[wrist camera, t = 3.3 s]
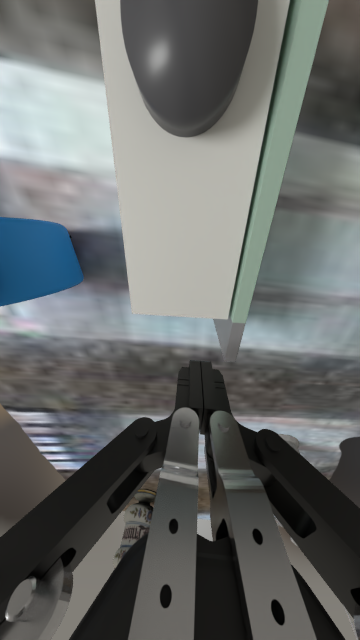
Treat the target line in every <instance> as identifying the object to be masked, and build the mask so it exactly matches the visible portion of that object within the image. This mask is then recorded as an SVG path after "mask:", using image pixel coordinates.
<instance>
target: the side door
mask: <svg viewBox="0 0 360 640" xmlns="http://www.w3.org/2000/svg"><path fill="white" fill-rule="evenodd" d="M328 1H329V0H290V3H289V8H288V13H287V18H286V23H285V28H284V33H283V38H282V44H281V49H280V54H279V59H278V64H277V69H276V74H275V79H274V84H273V90H272V95H271V100H270V105H269V110H268V115H267V120H266V125H265V131H264V136H263V141H262V146H261V151H260V156H259V161H258V166H257V172H256V177H255V182H254V187H253V192H252V197H251V202H250V207H249V213H248V218H247V223H246V228H245V233H244V238H243V243H242V248H241V254H240V259H239V264H238V269H237V274H236V279H235V284H234V289H233V294H232V300H231V305H230V310H229V315H228V319H213V320H214V324H215V328H216V331H217V335H218V339H219V343H220V346H221V350H222V354H223V358H224V361H229V362H236V358H237V354H238V351H239V347H240V343H241V339H242V335H243V331H244V327H245V323H246V319H247V316H248V312H249V308H250V304H251V300H252V296H253V292H254V288H255V285H256V281H257V277H258V273H259V269H260V265H261V261H262V257H263V253H264V250H265V246H266V242H267V238H268V234H269V230H270V226H271V222H272V219H273V215H274V211H275V207H276V203H277V199H278V195H279V191H280V187H281V184H282V180H283V176H284V172H285V168H286V164H287V160H288V156H289V153H290V149H291V145H292V141H293V137H294V133H295V129H296V125H297V121H298V118H299V114H300V110H301V106H302V102H303V98H304V94H305V90H306V87H307V83H308V79H309V75H310V71H311V67H312V63H313V59H314V55H315V52H316V48H317V44H318V40H319V36H320V32H321V28H322V24H323V20H324V17H325V13H326V9H327V5H328Z"/></svg>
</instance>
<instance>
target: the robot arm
mask: <svg viewBox="0 0 360 640" xmlns="http://www.w3.org/2000/svg"><path fill="white" fill-rule="evenodd" d="M199 432H200V434H203V435H205V447H204V453H205V461H206V469H207V478H208V486H209V494H210V518H211V528H212V537H213V541H209V540H207V539H205V538H204V537H202V536H200V535H198V534H197V509H198V441H199ZM161 467H162V469H161V473H160V478H159V483H158V488H157V493H156V498H155V503H154V508H153V513H152V519H151V524H150V529H149V533H147V534H146V535H144V536H142V537H141V538H140V539H139V540H137V541H136V542H135V543H134V544H133V545H132V546H131V547H130V548H129V550H128V551H127V552H126V553H125V555H124V556H123V557H122V559H121V560H120V562H119V563H118V565H117V566H116V568H115V570H114V571H113V573H112V574H111V576H110V577H109V579H108V580H107V582H106V583H105V585H104V586H103V588H102V589H101V591H100V593H99V594H98V596H97V597H96V599H95V601H94V602H93V604H92V605H91V606H90V608H89V610H88V611H87V613H86V614H85V616H84V617H83V619H82V620H81V622H80V623H79V625H78V626H77V628H76V630H75V631H74V633H73V634H72V636H71V637H70V639H69V640H345V638H344V637H343V635H342V634H341V632H340V631H339V630H338V628H337V627H336V625H335V624H334V622H333V621H332V619H331V618H330V616H329V615H328V614H327V612H326V611H325V609H324V608H323V606H322V605H321V603H320V602H319V600H318V599H317V597H316V596H315V595H314V593H313V592H312V590H311V589H310V587H309V586H308V584H307V583H306V582H305V580H304V579H303V578H302V576H301V575H300V574H299V573H298V572H297V570H296V569H295V568H294V567H293V566H292V565H291V564H290V561H289V558H288V555H287V552H286V549H285V546H284V543H283V540H282V538H281V535H280V532H279V529H278V526H277V523H276V520H275V517H276V518H277V519H278V521H279V522H280V523H281V525H282V526H283V527H284V529H285V530H286V531H287V533H288V534H289V535H290V536H291V538H292V539H293V540H294V542H295V543H296V544H297V546H298V547H299V548H300V549H301V551H302V552H303V553H304V555H305V556H306V557H307V559H308V560H309V561H310V562H311V564H312V565H313V566H314V568H315V569H316V570H317V572H318V573H319V574H320V575H321V577H322V578H323V579H324V581H325V582H326V583H327V585H328V586H329V587H330V588H331V590H332V591H333V592H334V594H335V595H336V596H337V598H338V599H339V600H340V602H341V603H342V604H343V605H344V607H345V608H346V609H347V611H348V612H349V613H350V614H351V616H352V617H353V618H354V623H355V629H356V633H357V637H358V640H360V508H359V507H357V506H356V505H355V504H354V503H353V502H352V501H351V500H350V499H349V498H348V497H347V496H345V495H344V494H343V493H342V492H341V491H340V490H339V489H338V488H337V487H336V486H334V485H333V484H332V483H331V482H330V481H329V480H328V479H327V478H326V477H325V476H323V475H322V474H321V473H320V472H319V471H318V470H317V469H316V468H315V467H314V466H312V465H311V464H310V463H309V462H308V461H307V460H306V459H305V458H304V457H303V456H301V455H300V454H299V453H298V452H297V451H296V450H295V449H294V448H293V447H292V446H290V445H289V444H288V443H287V442H286V441H285V440H284V439H283V438H282V437H281V436H279V435H278V434H277V433H275V432H273V431H271V430H268V429H262V430H260V431H259V432H258V433H257V432H255V431H253V430H250V429H248V428H246V427H244V426H242V425H241V424H239V423H238V422H237V421H236V420H235V419H234V417H233V415H232V413H231V410H230V405H229V401H228V397H227V392H226V389H225V384H224V379H223V375H222V374H221V373H220V371H219V370H215V369H212V364H211V362H209V361H195V360H190V364H189V368H188V367H182V368H181V370H180V371H179V374H178V384H177V394H176V403H175V409H174V411H173V413H172V414H171V415H170V416H169V417H168V418H166V419H164V420H160V421H157V422H154V421H153V420H152V419H150V418H147V417H143V418H139V419H137V420H135V421H134V422H133V423H132V424H131V425H129V426H128V427H127V428H126V429H125V430H124V431H123V432H121V433H120V434H119V435H118V436H117V437H116V438H114V439H113V440H112V441H111V442H110V443H109V444H108V445H106V446H105V447H104V448H103V449H102V450H101V451H99V452H98V453H97V454H96V455H95V456H94V457H93V458H91V459H90V460H89V461H88V462H87V463H86V464H84V465H83V466H82V467H81V468H80V469H79V470H78V471H76V472H75V473H74V474H73V475H72V476H71V477H69V478H68V479H67V480H66V481H65V482H64V483H63V484H61V485H60V486H59V487H58V488H57V489H56V490H55V491H53V492H52V493H51V494H50V495H49V496H48V497H46V498H45V499H44V500H43V501H42V502H41V503H39V504H38V505H37V506H36V507H35V508H34V509H33V510H31V511H30V512H29V513H28V514H27V515H26V516H25V517H23V518H22V519H21V520H20V521H19V522H18V523H16V525H14V526H13V527H12V528H11V529H9V530H8V531H7V532H6V533H5V534H4V535H3V536H1V537H0V640H51V639H52V637H53V635H54V634H55V632H56V631H57V629H58V627H59V626H60V624H61V622H62V619H63V617H64V615H65V613H66V611H67V608H68V605H69V602H70V598H71V594H72V588H73V574H72V572H73V571H74V569H75V568H76V567H77V566H78V564H79V563H80V562H81V561H82V559H83V558H84V557H85V556H86V555H87V553H88V552H89V551H90V550H91V548H92V547H93V546H94V544H96V542H97V541H98V540H99V539H100V537H101V536H102V535H103V534H104V532H105V531H106V530H107V529H108V527H109V526H110V525H111V524H112V523H113V521H114V520H115V519H116V518H117V516H118V515H119V514H120V513H121V511H122V510H123V509H124V508H125V506H126V505H127V504H128V503H129V501H130V500H131V499H132V498H133V497H134V495H135V494H136V493H137V492H138V490H139V489H140V488H141V487H142V485H143V484H144V483H145V482H146V480H147V479H148V478H149V477H150V476H151V474H152V473H153V472H154V470H156V469H158V468H161ZM274 516H275V517H274ZM252 534H253V535H252Z"/></svg>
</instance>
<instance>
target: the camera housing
mask: <svg viewBox="0 0 360 640" xmlns="http://www.w3.org/2000/svg"><path fill="white" fill-rule="evenodd" d="M95 3H96V12H97V20H98V29H99V37H100V46H101V54H102V63H103V71H104V80H105V88H106V96H107V105H108V113H109V122H110V130H111V139H112V147H113V156H114V164H115V173H116V181H117V190H118V198H119V207H120V215H121V224H122V232H123V241H124V249H125V258H126V266H127V275H128V283H129V292H130V300H131V309H132V314H146V315H162V316H179V317H195V318H212V319H228V315H229V310H230V305H231V300H232V294H233V289H234V284H235V279H236V274H237V269H238V264H239V259H240V254H241V248H242V243H243V238H244V233H245V228H246V223H247V218H248V213H249V207H250V202H251V197H252V192H253V187H254V182H255V177H256V172H257V166H258V161H259V156H260V151H261V146H262V141H263V136H264V131H265V125H266V120H267V115H268V110H269V105H270V100H271V95H272V90H273V84H274V79H275V74H276V69H277V64H278V59H279V54H280V49H281V44H282V38H283V33H284V28H285V23H286V18H287V13H288V8H289V3H290V0H95Z"/></svg>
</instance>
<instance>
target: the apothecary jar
mask: <svg viewBox="0 0 360 640" xmlns="http://www.w3.org/2000/svg"><path fill="white" fill-rule="evenodd" d="M134 497H135V498H136V499H137V500H139V503H136V504H133V505H131V506H129V507H128V508H127V510H126V511H125V514H124V521H125V524H126V525H125V530H124V534H123V538H122V542H121V547H120V548H119V549H118V550H117V552H116V553H115V555H114V559H113V564H114V569H115V568H116V566H117V565H118V563H119V562H120V560H121V559H122V557H123V556H124V555H125V553H126V552H127V551H128V550H129V548H130V547H131V546H132V545H133V544H134V543H135V542H136V541H137V540H139V539H140V538H141V537H142V536H144V535H146V534H147V533H149V529H150V524H151V519H152V513H153V507H152V506H150V502H153V501H155V498H156V493H155V492H153V491H149V490H145V489H139V490H138V492H137V493H136V494H135V495H134Z"/></svg>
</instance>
